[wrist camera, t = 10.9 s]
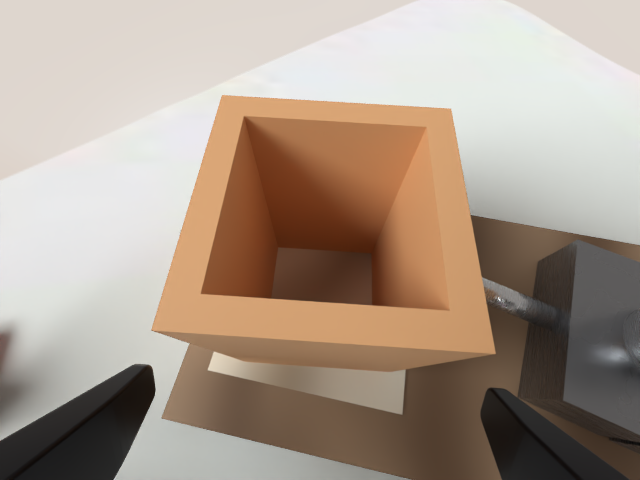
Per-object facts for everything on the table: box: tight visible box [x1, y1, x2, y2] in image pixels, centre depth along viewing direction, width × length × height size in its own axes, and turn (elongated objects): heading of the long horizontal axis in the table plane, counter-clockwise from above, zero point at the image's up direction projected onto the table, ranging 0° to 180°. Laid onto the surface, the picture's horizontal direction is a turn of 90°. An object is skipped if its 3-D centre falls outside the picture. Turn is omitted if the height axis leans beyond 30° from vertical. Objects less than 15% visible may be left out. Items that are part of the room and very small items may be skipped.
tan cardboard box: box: [152, 95, 496, 372], centre depth 10 cm, size 6×6×8 cm
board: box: [162, 215, 640, 480], centre depth 14 cm, size 23×12×2 cm, turn 78°
